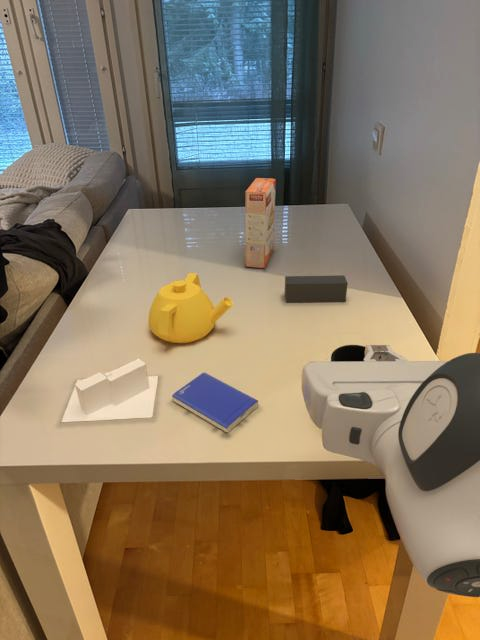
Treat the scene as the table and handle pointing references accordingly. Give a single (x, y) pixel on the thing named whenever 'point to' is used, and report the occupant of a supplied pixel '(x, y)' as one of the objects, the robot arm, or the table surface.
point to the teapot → (184, 311)
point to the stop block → (315, 289)
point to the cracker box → (259, 222)
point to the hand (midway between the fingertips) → (376, 349)
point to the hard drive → (215, 401)
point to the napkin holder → (113, 395)
